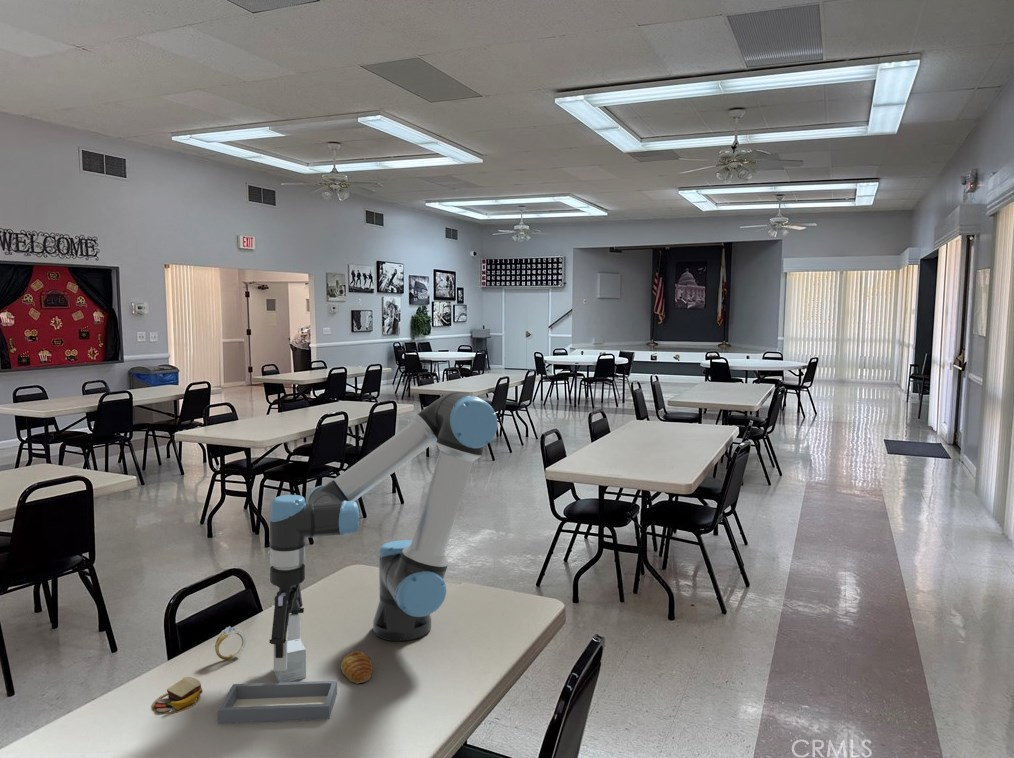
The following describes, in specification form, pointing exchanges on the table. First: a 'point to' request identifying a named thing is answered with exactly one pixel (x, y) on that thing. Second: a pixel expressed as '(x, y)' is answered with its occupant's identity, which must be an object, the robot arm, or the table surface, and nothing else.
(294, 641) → the product box
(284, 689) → the tray
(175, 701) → the toy sandwich meal
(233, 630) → the ring
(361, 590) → the table surface
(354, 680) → the pastry
